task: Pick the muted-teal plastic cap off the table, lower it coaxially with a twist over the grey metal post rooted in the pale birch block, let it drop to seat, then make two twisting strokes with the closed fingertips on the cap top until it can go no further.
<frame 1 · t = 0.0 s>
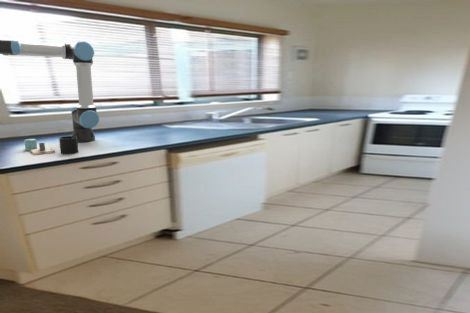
mug: (68, 152, 210), on the counter
cap: (31, 149, 216), on the counter
post block: (42, 152, 209), on the counter
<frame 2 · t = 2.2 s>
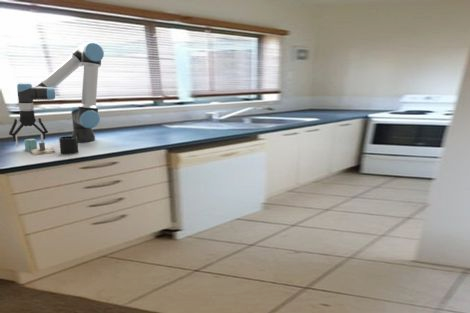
hand: (30, 145, 215), 2 cm above the counter, fingers open, 13 cm apart
nothing on the counter moved.
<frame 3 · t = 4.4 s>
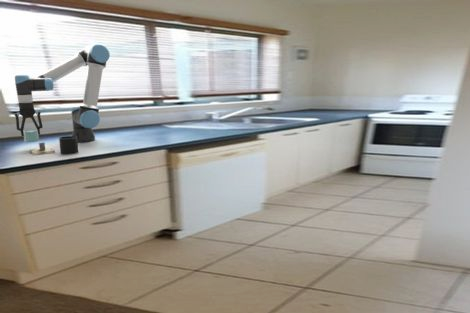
hand: (31, 140, 216), 5 cm above the counter, fingers closed on cap, 6 cm apart
cap: (31, 141, 216), point 5 cm above the counter, touching gripper
everything else where it was.
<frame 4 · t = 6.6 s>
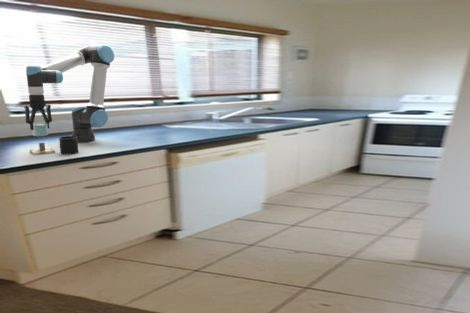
hand: (40, 134, 207), 10 cm above the counter, fingers closed on cap, 6 cm apart
cap: (40, 135, 207), point 10 cm above the counter, touching gripper
everything else where it was.
when the fingers open (2 cm above the counter, at t = 8.7 s): cap stays where it is, resting on post block.
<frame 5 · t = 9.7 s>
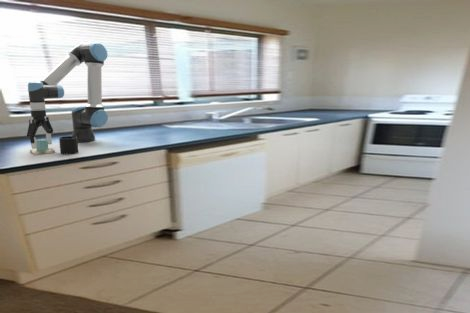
hand: (42, 146, 209), 3 cm above the counter, fingers open, 13 cm apart
cap: (42, 150, 209), point 1 cm above the counter, touching post block
everything else where it was.
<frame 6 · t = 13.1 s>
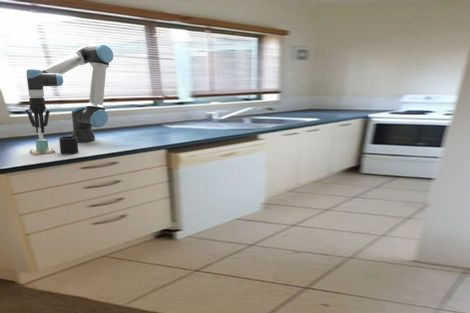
hand: (41, 138, 208), 8 cm above the counter, fingers closed
nothing on the counter moved.
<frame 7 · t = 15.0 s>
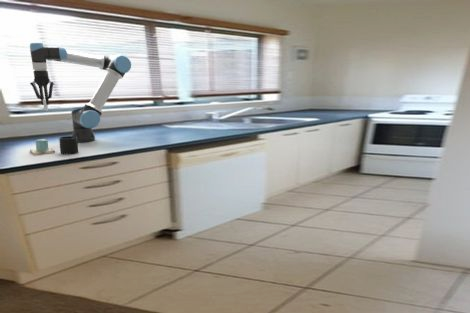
hand: (46, 110, 217), 23 cm above the counter, fingers closed
nothing on the counter moved.
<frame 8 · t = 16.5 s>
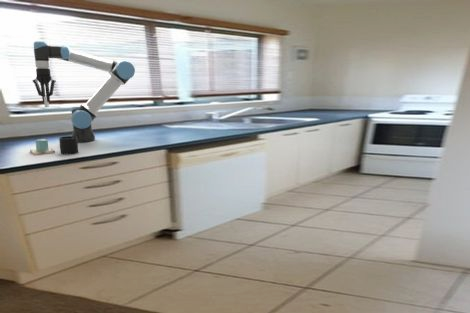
hand: (47, 107, 223), 24 cm above the counter, fingers closed
nothing on the counter moved.
at the end: cap 0.0 cm off-centre on the post block, point 1.2 cm above the post block's base; cap tilted 0°; the gripper is holding nothing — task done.
